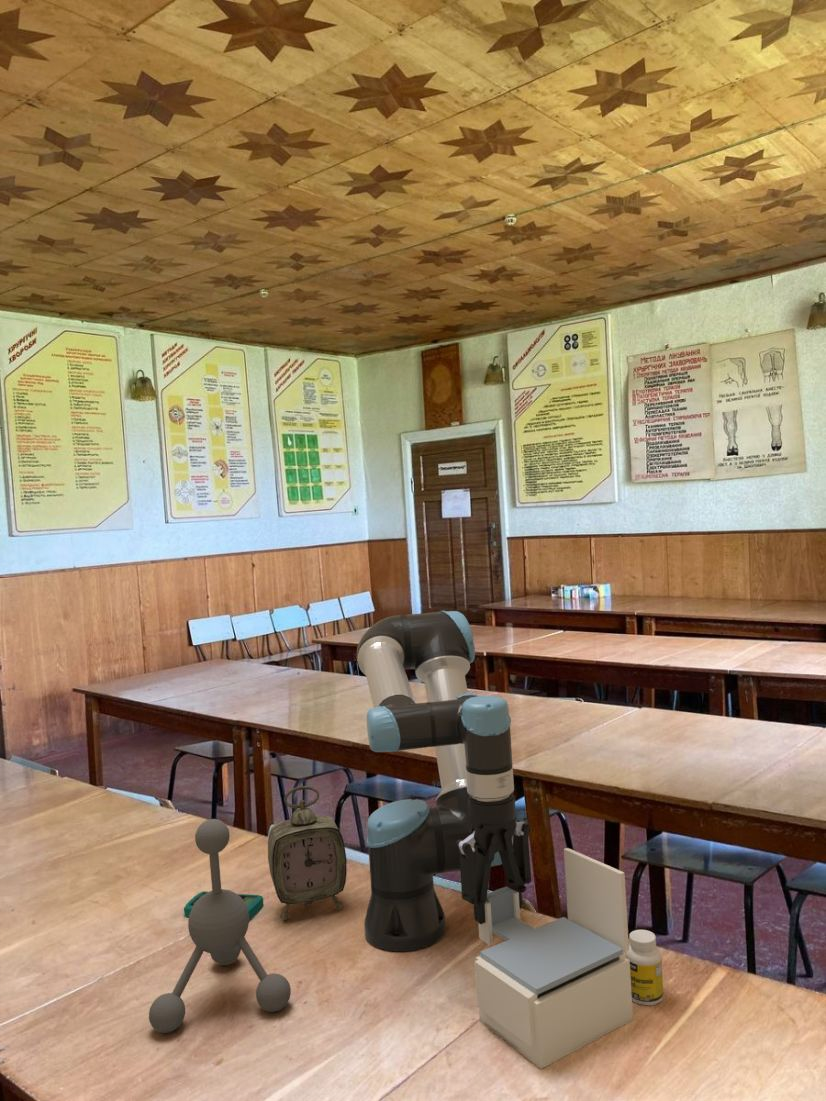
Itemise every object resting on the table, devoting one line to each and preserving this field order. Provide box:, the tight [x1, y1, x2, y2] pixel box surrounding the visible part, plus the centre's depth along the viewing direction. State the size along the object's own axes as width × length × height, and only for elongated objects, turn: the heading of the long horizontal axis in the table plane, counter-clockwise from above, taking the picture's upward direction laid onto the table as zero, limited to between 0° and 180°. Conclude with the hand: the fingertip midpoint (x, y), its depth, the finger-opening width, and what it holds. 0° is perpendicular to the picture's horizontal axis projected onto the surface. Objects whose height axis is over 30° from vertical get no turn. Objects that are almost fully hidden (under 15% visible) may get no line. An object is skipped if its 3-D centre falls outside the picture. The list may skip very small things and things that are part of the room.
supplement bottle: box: [625, 929, 664, 1006], centre depth 134 cm, size 5×5×10 cm
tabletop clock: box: [267, 785, 348, 921], centre depth 171 cm, size 14×9×25 cm, turn 106°
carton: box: [474, 847, 634, 1070], centre depth 129 cm, size 14×20×22 cm
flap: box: [479, 886, 623, 995], centre depth 132 cm, size 20×17×5 cm
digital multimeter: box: [183, 890, 264, 921], centre depth 173 cm, size 7×15×3 cm, turn 73°
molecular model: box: [148, 818, 292, 1034], centre depth 139 cm, size 24×22×30 cm
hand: (500, 934), depth 139 cm, fingers closed on flap, 5 cm apart
